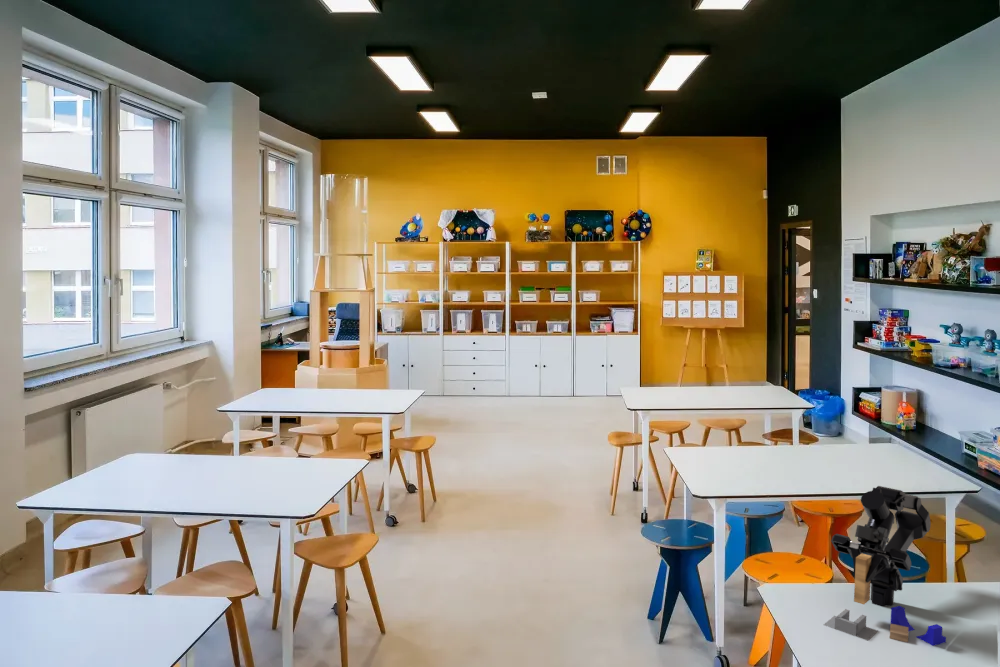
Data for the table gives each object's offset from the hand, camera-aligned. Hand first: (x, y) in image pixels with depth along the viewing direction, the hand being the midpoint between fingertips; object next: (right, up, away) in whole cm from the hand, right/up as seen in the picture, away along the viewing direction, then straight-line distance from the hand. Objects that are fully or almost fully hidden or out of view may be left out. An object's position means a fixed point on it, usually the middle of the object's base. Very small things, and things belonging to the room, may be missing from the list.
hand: (860, 580), depth 190 cm
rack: (-4, -13, -3) cm, 14 cm away
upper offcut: (+6, -12, -7) cm, 15 cm away
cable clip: (+12, -13, -5) cm, 19 cm away
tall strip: (+1, -6, +2) cm, 6 cm away
